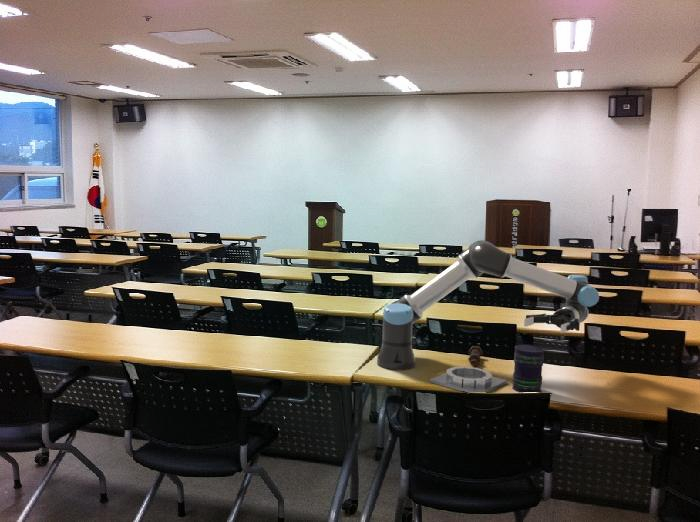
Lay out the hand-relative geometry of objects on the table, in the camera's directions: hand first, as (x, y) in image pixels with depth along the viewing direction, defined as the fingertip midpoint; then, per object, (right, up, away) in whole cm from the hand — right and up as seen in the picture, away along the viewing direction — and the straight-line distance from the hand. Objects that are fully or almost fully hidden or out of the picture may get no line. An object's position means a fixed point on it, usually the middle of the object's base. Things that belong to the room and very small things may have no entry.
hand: (543, 325), depth 205 cm
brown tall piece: (-19, -18, +27) cm, 38 cm away
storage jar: (-7, -22, -5) cm, 24 cm away
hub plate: (-27, -21, 0) cm, 34 cm away
